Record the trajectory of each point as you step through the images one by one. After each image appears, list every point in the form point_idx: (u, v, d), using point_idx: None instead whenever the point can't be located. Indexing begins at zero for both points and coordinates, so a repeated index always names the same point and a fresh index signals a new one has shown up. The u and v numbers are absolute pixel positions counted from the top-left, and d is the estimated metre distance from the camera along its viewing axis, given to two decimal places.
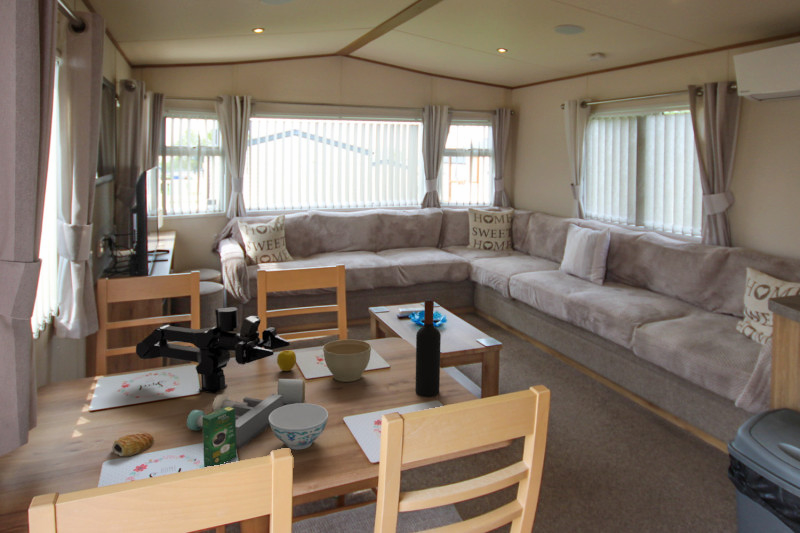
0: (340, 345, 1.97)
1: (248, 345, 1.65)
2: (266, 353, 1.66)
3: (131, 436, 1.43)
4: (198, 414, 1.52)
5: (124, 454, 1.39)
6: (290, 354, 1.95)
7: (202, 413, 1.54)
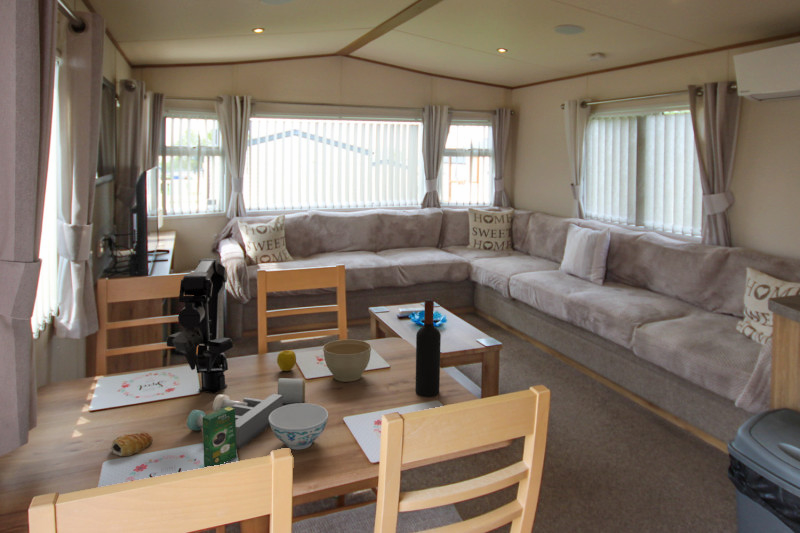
0: (340, 345, 1.97)
1: None
2: None
3: (130, 436, 1.43)
4: (198, 414, 1.52)
5: (123, 454, 1.39)
6: (290, 354, 1.95)
7: (202, 413, 1.54)
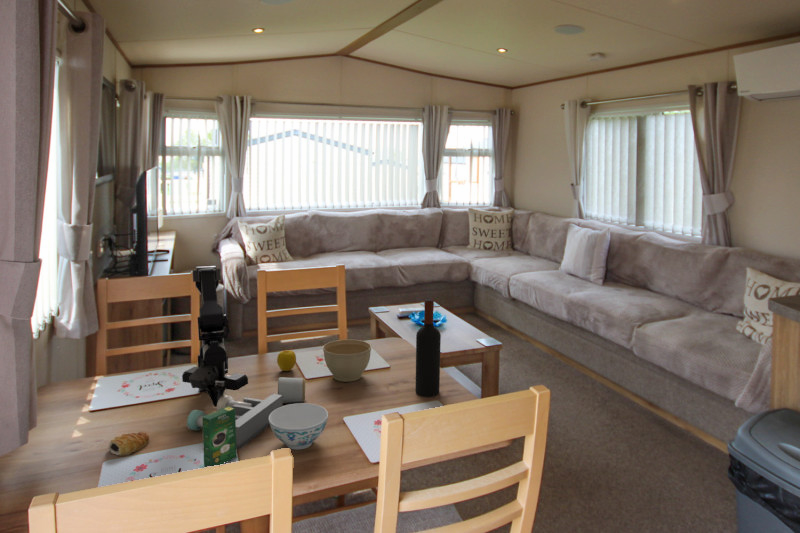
0: (340, 345, 1.97)
1: None
2: None
3: (127, 435, 1.43)
4: (198, 414, 1.52)
5: (121, 453, 1.39)
6: (290, 354, 1.95)
7: (202, 413, 1.54)
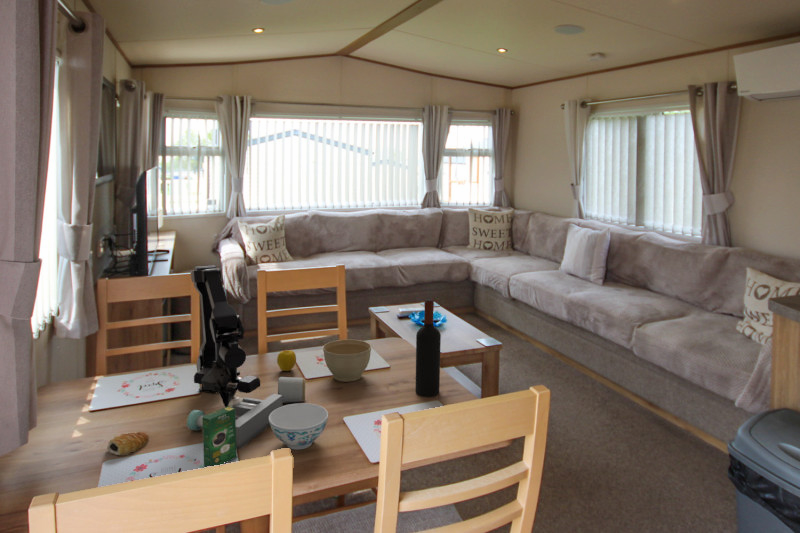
0: (340, 345, 1.97)
1: None
2: None
3: (126, 435, 1.43)
4: (198, 414, 1.52)
5: (121, 453, 1.39)
6: (290, 354, 1.95)
7: (202, 413, 1.54)
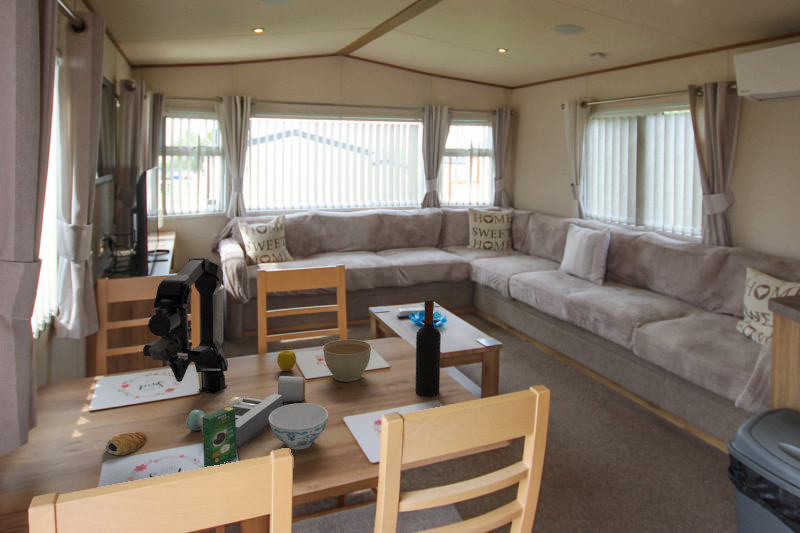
0: (340, 345, 1.97)
1: None
2: None
3: (125, 435, 1.44)
4: (198, 414, 1.52)
5: (119, 453, 1.40)
6: (290, 354, 1.95)
7: (202, 413, 1.54)
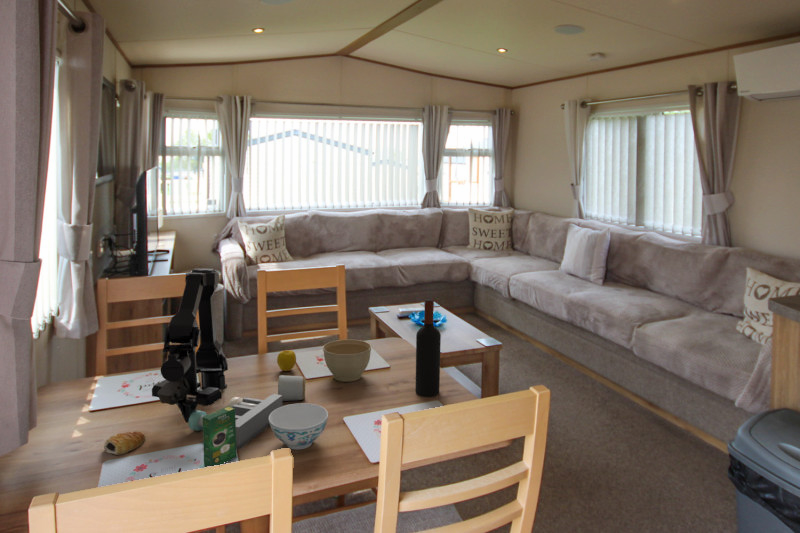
0: (340, 345, 1.97)
1: None
2: None
3: (123, 434, 1.44)
4: (200, 414, 1.52)
5: (118, 452, 1.40)
6: (290, 354, 1.95)
7: (204, 413, 1.54)
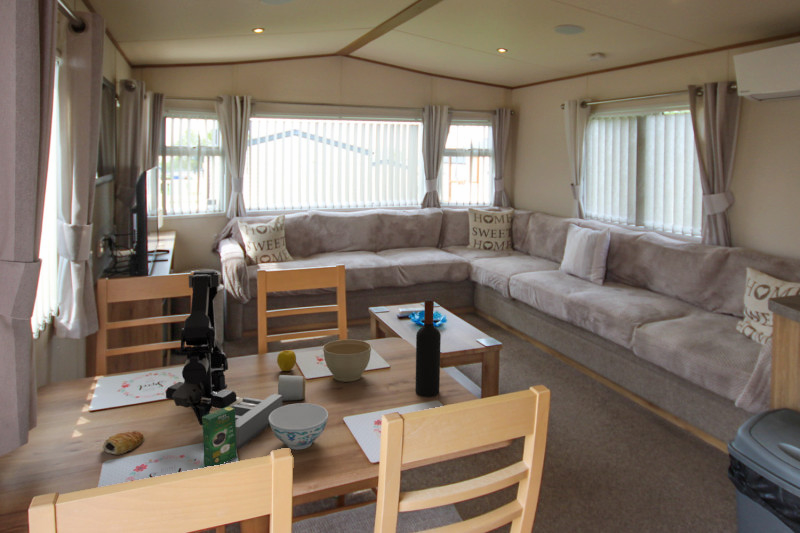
0: (340, 345, 1.97)
1: None
2: None
3: (122, 434, 1.44)
4: None
5: (117, 452, 1.40)
6: (290, 354, 1.95)
7: None
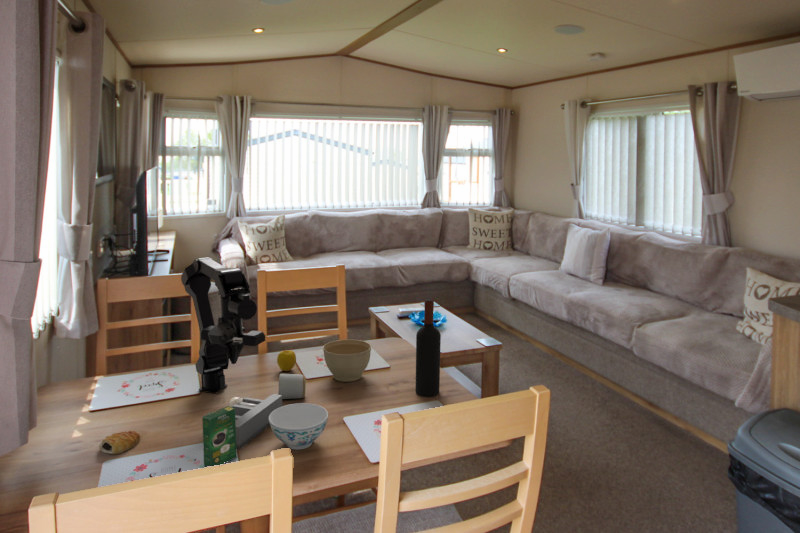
0: (340, 345, 1.97)
1: None
2: None
3: (118, 434, 1.44)
4: None
5: (115, 452, 1.40)
6: (290, 354, 1.95)
7: None
